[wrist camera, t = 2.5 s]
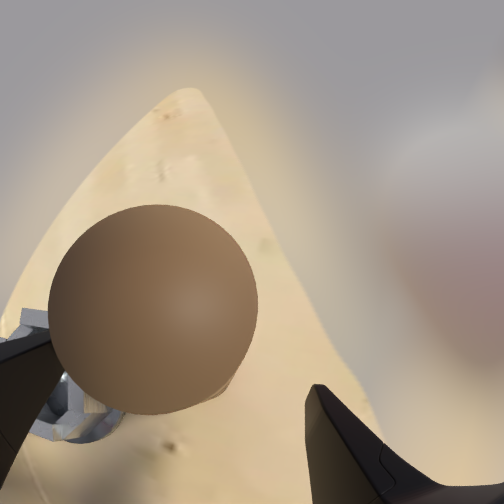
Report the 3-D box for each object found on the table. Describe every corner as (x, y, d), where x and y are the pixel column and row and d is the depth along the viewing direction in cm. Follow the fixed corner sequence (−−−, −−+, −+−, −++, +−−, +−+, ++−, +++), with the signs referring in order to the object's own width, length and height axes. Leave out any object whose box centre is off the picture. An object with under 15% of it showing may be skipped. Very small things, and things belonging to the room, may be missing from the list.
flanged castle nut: (131, 453, 12) (101, 468, 8) (29, 424, 11) (-12, 422, 7) (130, 326, 17) (103, 301, 12) (35, 316, 16) (-2, 292, 11)
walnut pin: (232, 399, 15) (266, 416, 3) (175, 398, 15) (38, 393, 3) (229, 346, 17) (250, 204, 5) (175, 345, 17) (73, 208, 5)
